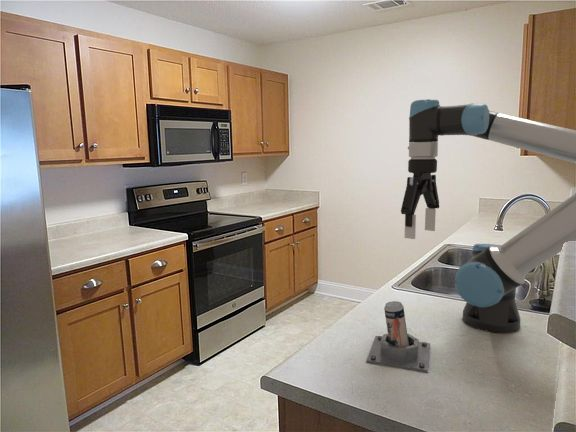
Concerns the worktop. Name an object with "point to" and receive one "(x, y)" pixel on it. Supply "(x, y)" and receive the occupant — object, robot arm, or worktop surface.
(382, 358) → the duct flange
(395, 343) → the beer can
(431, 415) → the worktop surface
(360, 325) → the worktop surface
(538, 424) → the worktop surface
